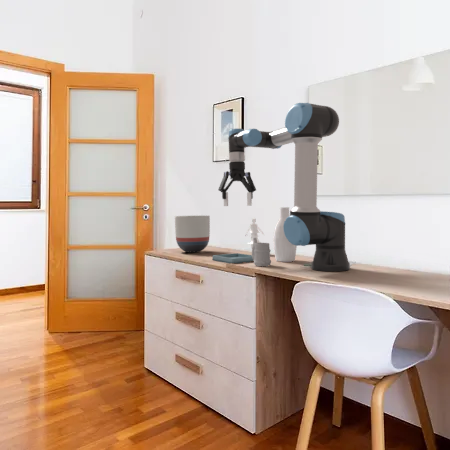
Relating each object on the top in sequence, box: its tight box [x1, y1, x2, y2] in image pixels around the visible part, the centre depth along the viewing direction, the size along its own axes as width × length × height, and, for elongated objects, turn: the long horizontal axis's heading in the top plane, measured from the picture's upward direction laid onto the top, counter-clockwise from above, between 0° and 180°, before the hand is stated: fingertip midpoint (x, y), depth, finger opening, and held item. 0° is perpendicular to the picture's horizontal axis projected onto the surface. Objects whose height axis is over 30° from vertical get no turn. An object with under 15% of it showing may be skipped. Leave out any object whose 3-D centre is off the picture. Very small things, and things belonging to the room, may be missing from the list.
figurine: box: [245, 217, 265, 249], centre depth 230 cm, size 13×10×20 cm
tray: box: [212, 252, 253, 264], centre depth 205 cm, size 18×15×2 cm
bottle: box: [272, 206, 298, 263], centre depth 201 cm, size 11×11×25 cm
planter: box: [174, 214, 211, 253], centre depth 249 cm, size 20×20×21 cm
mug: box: [251, 238, 272, 267], centre depth 188 cm, size 8×12×12 cm, turn 28°
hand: (237, 206), depth 204 cm, fingers open, 13 cm apart
